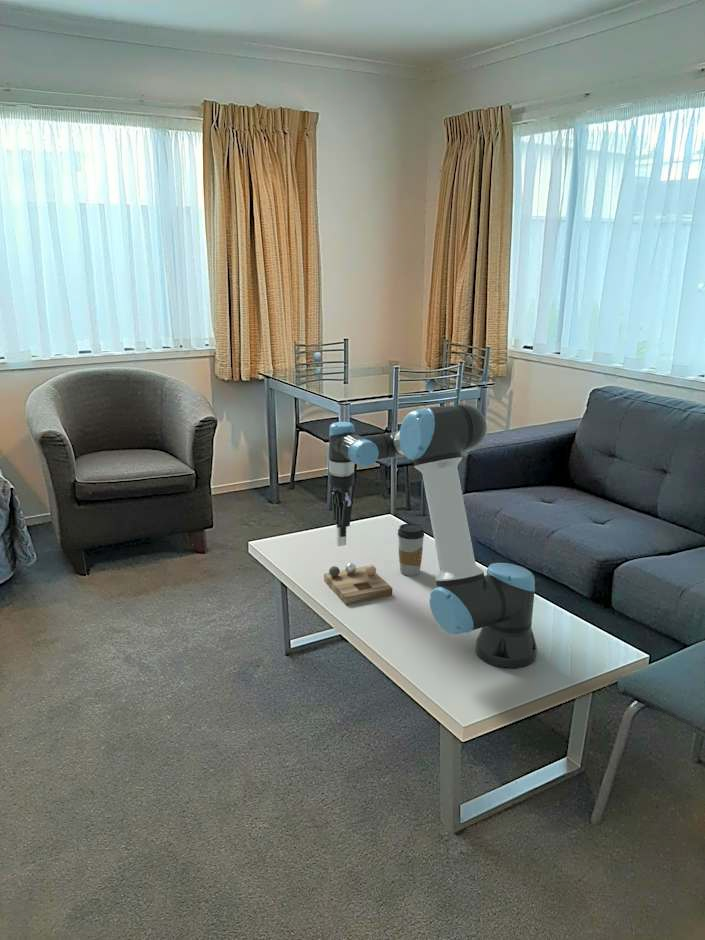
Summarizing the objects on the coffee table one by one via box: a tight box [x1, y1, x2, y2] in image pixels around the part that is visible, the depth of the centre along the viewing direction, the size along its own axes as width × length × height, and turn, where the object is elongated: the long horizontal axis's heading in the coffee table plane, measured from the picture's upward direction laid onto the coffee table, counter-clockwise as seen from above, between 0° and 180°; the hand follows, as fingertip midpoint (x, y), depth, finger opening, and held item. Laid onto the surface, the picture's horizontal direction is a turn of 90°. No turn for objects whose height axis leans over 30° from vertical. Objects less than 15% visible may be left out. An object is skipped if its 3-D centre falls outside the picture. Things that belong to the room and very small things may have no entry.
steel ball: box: [344, 562, 357, 574], centre depth 228 cm, size 3×3×3 cm
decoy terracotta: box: [366, 564, 377, 576], centre depth 227 cm, size 3×3×3 cm
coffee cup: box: [397, 522, 425, 577], centre depth 234 cm, size 8×8×15 cm
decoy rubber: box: [328, 565, 341, 577], centre depth 226 cm, size 3×3×3 cm
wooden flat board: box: [323, 565, 393, 605], centre depth 224 cm, size 17×15×2 cm
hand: (341, 544), depth 233 cm, fingers closed
